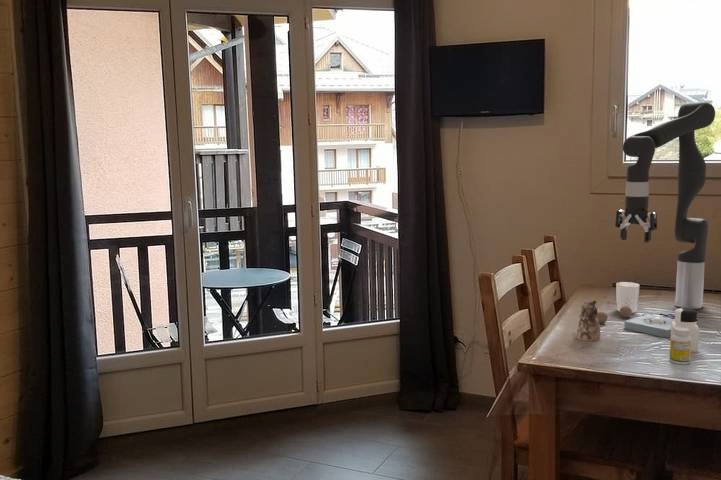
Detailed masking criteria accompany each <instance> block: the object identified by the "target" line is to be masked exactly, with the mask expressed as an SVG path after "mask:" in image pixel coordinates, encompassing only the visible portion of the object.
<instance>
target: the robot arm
mask: <svg viewBox="0 0 721 480" xmlns="http://www.w3.org/2000/svg"><path fill="white" fill-rule="evenodd" d="M715 117H716V109H715V106H714V105H713V104H712V103H710V102H706V101H694V102H693V101H692V102H684V103H682V104H681V105H680V107H679V109H678V112H677V118H675V119H670V120H667V121H665V122H662V123H659V124H658V125H655V126H654V127H652V128H650V129H648V130H645V131H642V132H638V133H636V134H635V133H634V134H632V135H630V136H628V137H627V138H626V139H625V141H624V142H623V143H622V152H623V153H624V155H626V156H627V157H631V158H637V161H636V162H635V163H633V164H629V165H628V166H627V170H626V185H625V200H624V208H625V210H623V209H619V210H616V215H615V223H614V226H615V228H619V229H620V239H621V241H626V240H627V238H628V229H627V228H628V227H629V225H631V224H635V225H640V226H641V227H642V228H643V230H644V238H643V239H644V243H646V244H647V243H650V241H651V240H652V231H656V230H657V229H658V213H657V212H649V210H648V209H649V202H650V201H649V198H650V196H649V195H650V194H649V193H650V185H649V184H650V183H649V182H650V181H649V179H650V175H649V174H650V167H651V165H652V162H653V158H654V156H655V152H656V149H658V148H661V147H662V146H664V145H666V144H668V143H670V142H671V141H673V140H676V139H677V138H678V168H677V202H676V212H675V221H674V222H675V223H674V239H675V240H676V242H678V243H679V242H680V243H689V244H694V247H693V248H691V249H688V250H684V251H681V252H678V255H677V262H676V263H677V265H676V280H675V281H676V283H675V300H674V301H675V302H674V304H675V305H674V306H676V307H679V308H689V309H693V310H695V309H696V310H697V309H701V308H703V298H704V286H705V284H704V283H705V281H704V280H705V261H706V254H707V253H706V251H707V239H708V235H709V234H708V233H709V225H708V224H709V223H708V221H707V219H705V218H696V217H688V211H689V208H690V206H691V204H692V202H693V201H694V200H695V198H697V196H698V195H699V193H700V192H701V190H702V189H703V187H704V186H705V183H706V177H707V176H706V175H707V174H706V173H707V164H706V160H705V159H704V156H703V155H702V152H701V150H700V149H699V147H698V146H697V143H696V138H695V137H696V136H695V131H698V130H701V129H705V128H706V127H707V128H708V127H709V126H711V124H713V122H714V120H715ZM624 216H625V219H624ZM623 219H624V220H623ZM648 220H649V221H648Z"/></svg>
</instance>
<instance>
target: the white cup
mask: <svg viewBox="0 0 721 480" xmlns="http://www.w3.org/2000/svg"><path fill="white" fill-rule="evenodd" d="M615 284H616V285H615V286H616V288H615V289H616V290H615V291H616V293H615V294H616V296H615V297H616V310H617V312H619V313H620V309H621V308H622V307H624V306H628V307H630V308H631V310H632V314H633V313H635V314H636V312H637V310H638V309H637V308H638V303H639V294H640V293H639V292H640V284H639V283H638V282H637V283H635V282H628V281H626V282H625V281H619V282H616V283H615Z"/></svg>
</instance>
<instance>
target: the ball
mask: <svg viewBox="0 0 721 480" xmlns="http://www.w3.org/2000/svg"><path fill="white" fill-rule="evenodd" d="M651 323H655V324H664V321H663V320H662V319H661V318H659V317H655V318H653V319H652V321H651Z"/></svg>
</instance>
